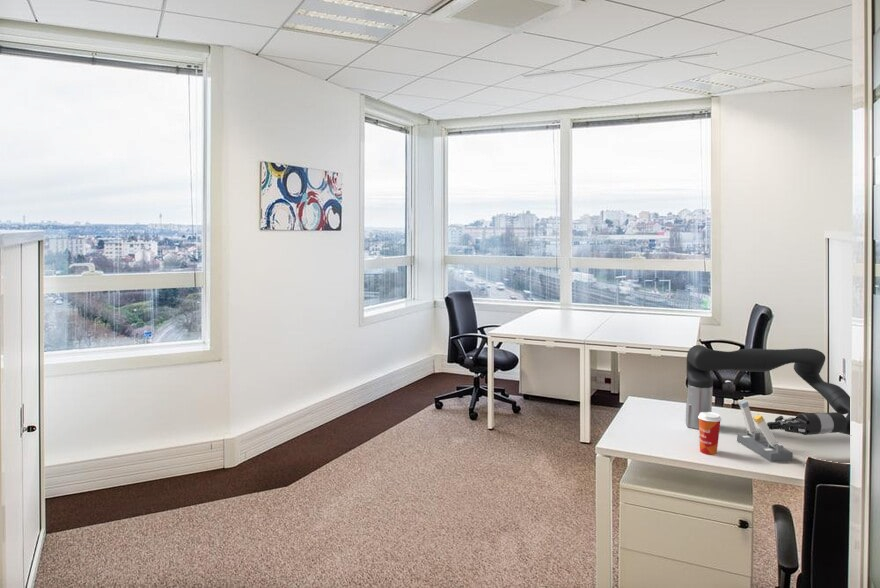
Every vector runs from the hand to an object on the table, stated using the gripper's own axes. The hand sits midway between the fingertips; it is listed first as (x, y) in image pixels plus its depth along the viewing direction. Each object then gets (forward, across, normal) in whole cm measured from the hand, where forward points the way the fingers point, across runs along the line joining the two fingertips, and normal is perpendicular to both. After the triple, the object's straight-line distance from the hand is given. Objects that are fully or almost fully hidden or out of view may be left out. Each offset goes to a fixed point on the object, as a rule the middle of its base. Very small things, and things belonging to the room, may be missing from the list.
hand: (768, 426), depth 205 cm
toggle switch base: (-4, +7, -12) cm, 14 cm away
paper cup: (+17, +8, -12) cm, 22 cm away
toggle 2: (-3, 0, -8) cm, 9 cm away
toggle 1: (-4, +13, -8) cm, 16 cm away
